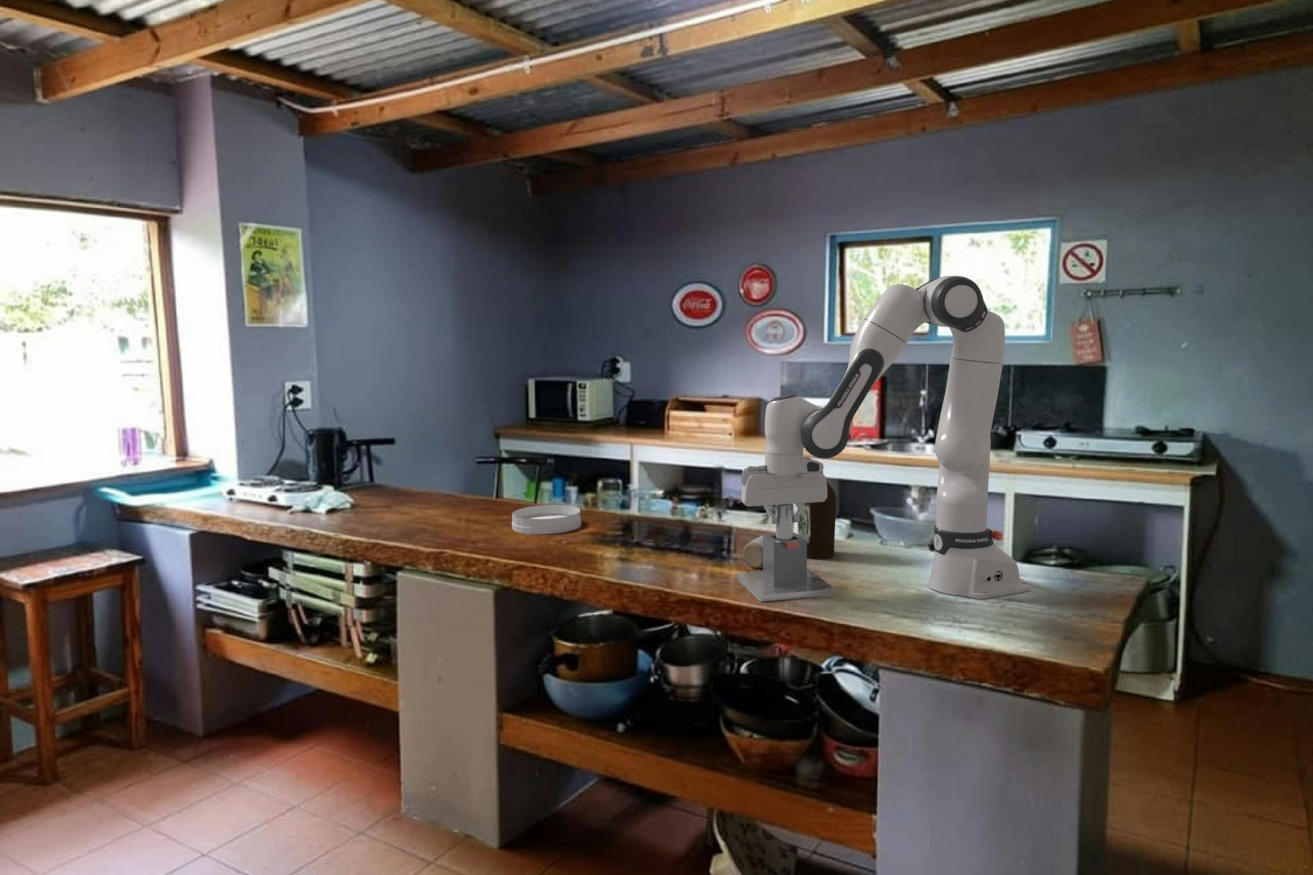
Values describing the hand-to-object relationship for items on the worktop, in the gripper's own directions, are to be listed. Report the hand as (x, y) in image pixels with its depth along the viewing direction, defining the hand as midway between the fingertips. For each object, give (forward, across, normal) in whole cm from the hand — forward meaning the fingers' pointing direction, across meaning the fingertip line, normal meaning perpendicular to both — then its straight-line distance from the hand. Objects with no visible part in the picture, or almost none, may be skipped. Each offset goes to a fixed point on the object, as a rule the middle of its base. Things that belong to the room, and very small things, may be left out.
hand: (784, 522), depth 194 cm
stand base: (+16, 0, 0) cm, 16 cm away
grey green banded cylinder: (+14, 0, 0) cm, 14 cm away
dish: (+16, -51, +81) cm, 97 cm away
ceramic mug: (+16, +2, +18) cm, 24 cm away
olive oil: (+16, +18, +25) cm, 35 cm away
